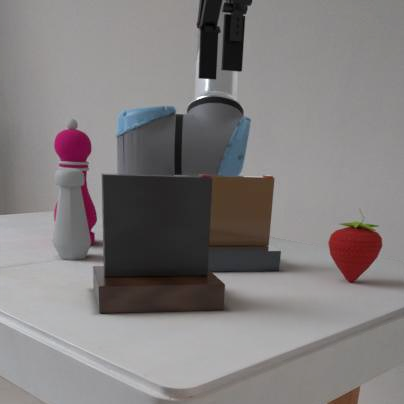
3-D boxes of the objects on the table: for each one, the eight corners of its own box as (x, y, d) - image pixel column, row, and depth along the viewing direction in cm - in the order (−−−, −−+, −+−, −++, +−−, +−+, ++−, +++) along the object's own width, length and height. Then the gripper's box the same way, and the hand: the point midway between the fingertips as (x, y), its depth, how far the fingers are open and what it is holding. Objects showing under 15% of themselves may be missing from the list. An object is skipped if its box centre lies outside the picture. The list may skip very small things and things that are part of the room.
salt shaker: (56, 261, 84) (52, 169, 79) (50, 254, 89) (45, 167, 84) (95, 260, 86) (93, 170, 81) (87, 252, 91) (84, 167, 86)
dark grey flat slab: (105, 276, 64) (102, 172, 59) (103, 272, 65) (101, 171, 61) (208, 275, 66) (212, 175, 62) (203, 271, 68) (208, 174, 64)
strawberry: (317, 276, 82) (325, 206, 79) (366, 276, 83) (376, 207, 80) (332, 286, 77) (341, 211, 73) (383, 286, 78) (396, 212, 74)
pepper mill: (88, 248, 94) (84, 118, 87) (48, 244, 96) (40, 116, 88) (103, 241, 101) (101, 120, 94) (65, 238, 102) (60, 118, 95)
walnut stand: (99, 313, 61) (98, 286, 60) (93, 289, 70) (92, 265, 69) (223, 310, 64) (225, 284, 63) (203, 287, 73) (204, 264, 72)
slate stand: (201, 271, 82) (202, 251, 81) (187, 257, 91) (187, 239, 90) (279, 271, 84) (281, 251, 83) (257, 257, 93) (259, 239, 92)
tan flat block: (199, 245, 84) (202, 173, 80) (196, 243, 86) (199, 172, 82) (268, 245, 87) (274, 176, 83) (264, 243, 89) (270, 175, 85)
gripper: (288, -139, 64) (272, 68, 72) (228, -70, 87) (220, 83, 95) (225, -150, 63) (215, 64, 71) (180, -76, 85) (177, 80, 93)
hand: (218, 75), depth 83 cm, fingers open, 13 cm apart
